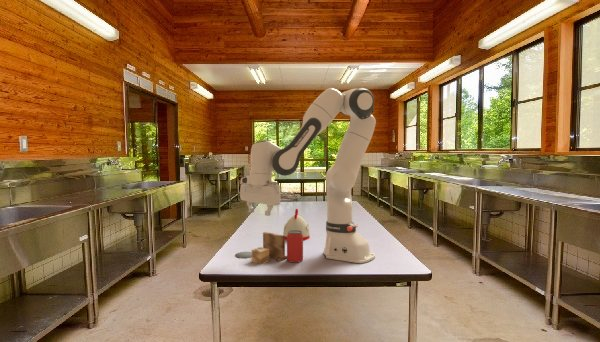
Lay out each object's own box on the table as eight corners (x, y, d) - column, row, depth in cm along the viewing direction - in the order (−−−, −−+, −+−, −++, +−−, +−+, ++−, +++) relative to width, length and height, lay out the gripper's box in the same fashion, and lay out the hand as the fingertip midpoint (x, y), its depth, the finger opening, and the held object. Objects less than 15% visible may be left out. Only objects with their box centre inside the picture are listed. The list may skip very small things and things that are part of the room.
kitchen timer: (310, 234, 184) (310, 207, 183) (308, 241, 170) (308, 211, 170) (285, 234, 185) (285, 207, 185) (281, 240, 172) (281, 211, 171)
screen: (287, 258, 142) (287, 234, 141) (279, 261, 138) (279, 237, 137) (268, 253, 149) (268, 231, 148) (260, 256, 145) (260, 233, 144)
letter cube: (269, 261, 139) (269, 248, 139) (260, 264, 135) (260, 251, 135) (260, 258, 142) (260, 246, 142) (251, 261, 138) (251, 248, 138)
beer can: (294, 257, 144) (294, 229, 143) (306, 260, 140) (306, 231, 139) (283, 260, 139) (283, 231, 138) (295, 264, 135) (296, 234, 134)
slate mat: (260, 254, 147) (260, 254, 147) (244, 259, 140) (244, 259, 140) (245, 250, 153) (245, 250, 153) (230, 255, 146) (230, 255, 146)
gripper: (284, 181, 134) (283, 216, 134) (249, 178, 146) (248, 209, 147) (274, 182, 129) (272, 218, 129) (237, 178, 141) (236, 211, 142)
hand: (259, 213), depth 138 cm, fingers open, 8 cm apart
